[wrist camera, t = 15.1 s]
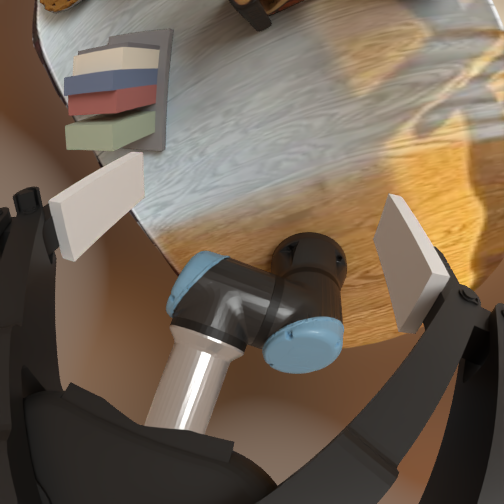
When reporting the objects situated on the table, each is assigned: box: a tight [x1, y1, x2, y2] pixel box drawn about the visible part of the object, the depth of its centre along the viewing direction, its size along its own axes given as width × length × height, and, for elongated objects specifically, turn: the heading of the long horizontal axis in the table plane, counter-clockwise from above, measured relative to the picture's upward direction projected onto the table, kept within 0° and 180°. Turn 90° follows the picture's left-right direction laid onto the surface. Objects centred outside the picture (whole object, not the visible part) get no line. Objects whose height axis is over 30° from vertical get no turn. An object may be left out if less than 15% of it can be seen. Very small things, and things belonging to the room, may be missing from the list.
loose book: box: [65, 111, 156, 151], centre depth 41 cm, size 4×10×13 cm, turn 83°
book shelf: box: [64, 29, 173, 151], centre depth 38 cm, size 23×13×14 cm, turn 173°
